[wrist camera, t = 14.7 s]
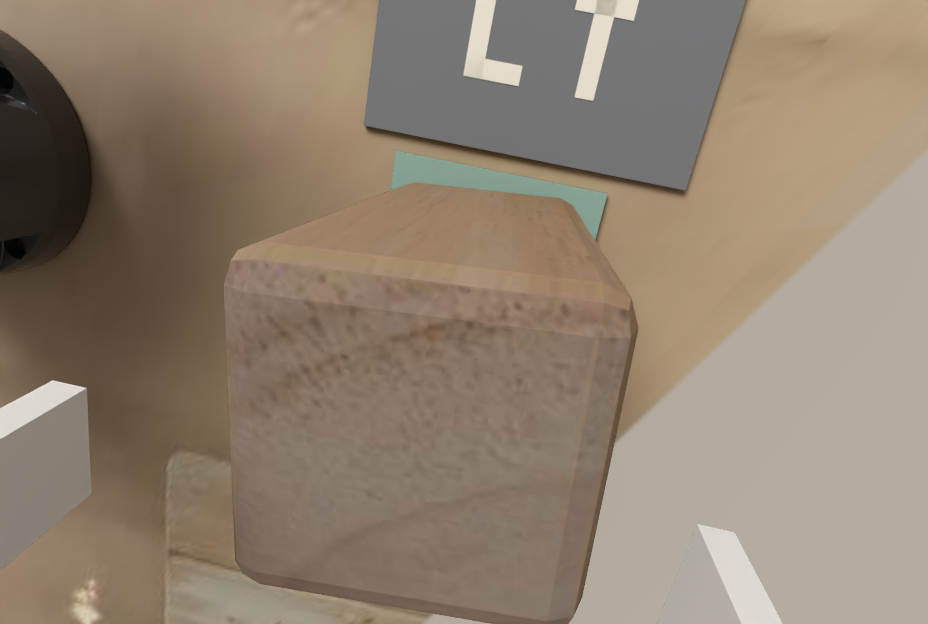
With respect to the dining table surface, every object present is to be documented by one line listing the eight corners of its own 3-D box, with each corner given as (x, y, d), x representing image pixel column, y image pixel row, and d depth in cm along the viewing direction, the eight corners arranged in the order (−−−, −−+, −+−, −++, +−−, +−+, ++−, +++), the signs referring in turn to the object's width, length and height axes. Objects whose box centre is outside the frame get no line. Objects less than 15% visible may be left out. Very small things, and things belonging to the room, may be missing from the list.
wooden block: (551, 363, 34) (579, 656, 15) (391, 341, 34) (221, 594, 15) (577, 198, 30) (656, 299, 11) (400, 178, 31) (202, 244, 12)
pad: (369, 343, 35) (368, 345, 35) (397, 150, 31) (396, 150, 31) (555, 385, 34) (555, 387, 34) (606, 193, 30) (607, 194, 30)
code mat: (365, 125, 31) (363, 125, 30) (396, -128, 27) (395, -131, 27) (684, 190, 30) (686, 190, 30) (763, -63, 26) (766, -65, 26)
